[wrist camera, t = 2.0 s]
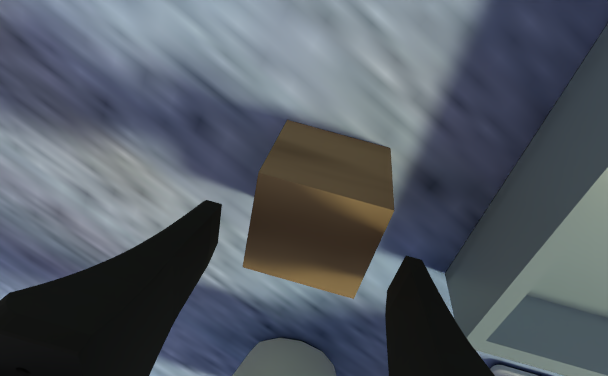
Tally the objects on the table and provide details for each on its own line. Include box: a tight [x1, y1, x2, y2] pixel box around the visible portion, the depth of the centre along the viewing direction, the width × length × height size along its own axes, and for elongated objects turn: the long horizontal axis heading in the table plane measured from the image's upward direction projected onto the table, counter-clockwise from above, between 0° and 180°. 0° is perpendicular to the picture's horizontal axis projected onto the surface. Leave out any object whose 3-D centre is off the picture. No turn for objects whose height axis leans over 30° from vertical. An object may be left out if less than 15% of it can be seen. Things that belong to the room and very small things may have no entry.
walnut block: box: [243, 120, 394, 299], centre depth 16 cm, size 5×5×5 cm
